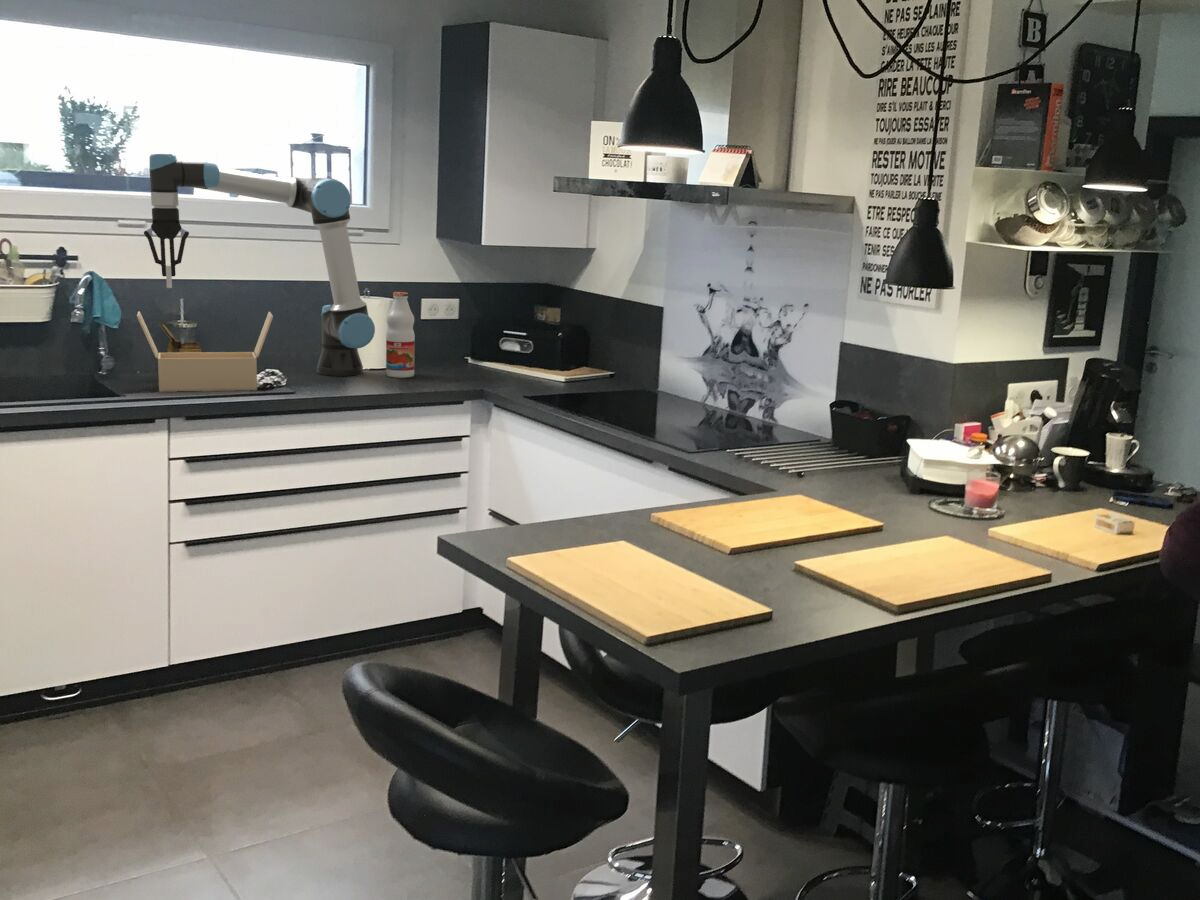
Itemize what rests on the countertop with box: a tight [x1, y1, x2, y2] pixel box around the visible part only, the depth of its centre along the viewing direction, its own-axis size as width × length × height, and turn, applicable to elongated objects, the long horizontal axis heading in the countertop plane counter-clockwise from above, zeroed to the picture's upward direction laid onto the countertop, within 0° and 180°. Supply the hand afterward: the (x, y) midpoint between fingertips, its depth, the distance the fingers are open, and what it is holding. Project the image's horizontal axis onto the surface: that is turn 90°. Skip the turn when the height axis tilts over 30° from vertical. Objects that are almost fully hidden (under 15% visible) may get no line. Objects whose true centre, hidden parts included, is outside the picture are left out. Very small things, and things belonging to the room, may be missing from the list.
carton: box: [157, 351, 258, 393], centre depth 360 cm, size 28×13×10 cm, turn 109°
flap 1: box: [136, 311, 159, 359], centre depth 352 cm, size 13×12×1 cm
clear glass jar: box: [158, 321, 203, 353], centre depth 374 cm, size 9×14×18 cm, turn 105°
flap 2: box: [253, 311, 274, 358], centre depth 363 cm, size 13×12×1 cm
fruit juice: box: [385, 291, 416, 379], centre depth 395 cm, size 9×9×28 cm
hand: (169, 287), depth 354 cm, fingers closed
